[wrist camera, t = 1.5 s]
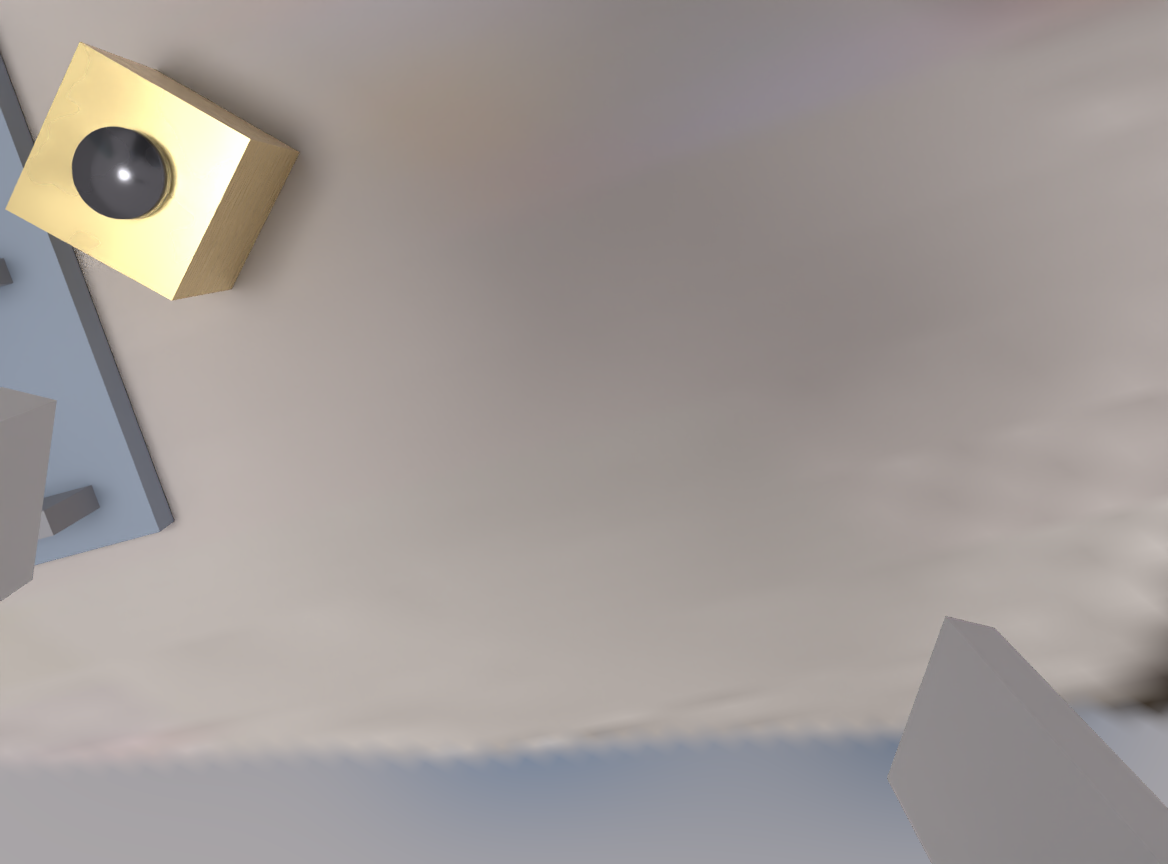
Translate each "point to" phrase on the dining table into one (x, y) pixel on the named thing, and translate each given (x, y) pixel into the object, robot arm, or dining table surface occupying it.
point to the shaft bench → (68, 378)
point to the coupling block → (150, 176)
